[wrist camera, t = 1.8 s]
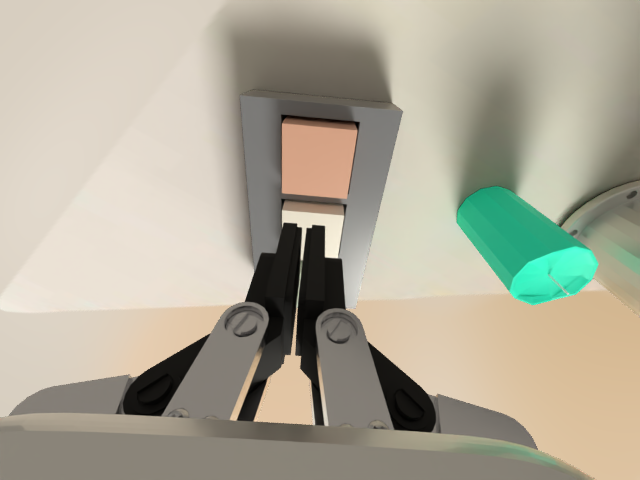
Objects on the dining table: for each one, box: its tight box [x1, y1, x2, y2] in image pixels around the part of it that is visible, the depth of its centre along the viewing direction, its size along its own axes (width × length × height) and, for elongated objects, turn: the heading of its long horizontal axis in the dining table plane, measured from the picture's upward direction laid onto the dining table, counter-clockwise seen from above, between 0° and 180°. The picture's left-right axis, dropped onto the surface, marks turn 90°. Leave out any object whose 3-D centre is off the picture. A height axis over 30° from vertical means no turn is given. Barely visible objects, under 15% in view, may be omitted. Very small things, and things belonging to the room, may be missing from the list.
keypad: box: [240, 90, 403, 309], centre depth 27 cm, size 12×22×4 cm, turn 175°
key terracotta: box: [282, 115, 358, 199], centre depth 22 cm, size 5×5×3 cm
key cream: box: [282, 199, 344, 260], centre depth 26 cm, size 5×5×3 cm
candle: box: [457, 186, 599, 305], centre depth 24 cm, size 6×6×12 cm
